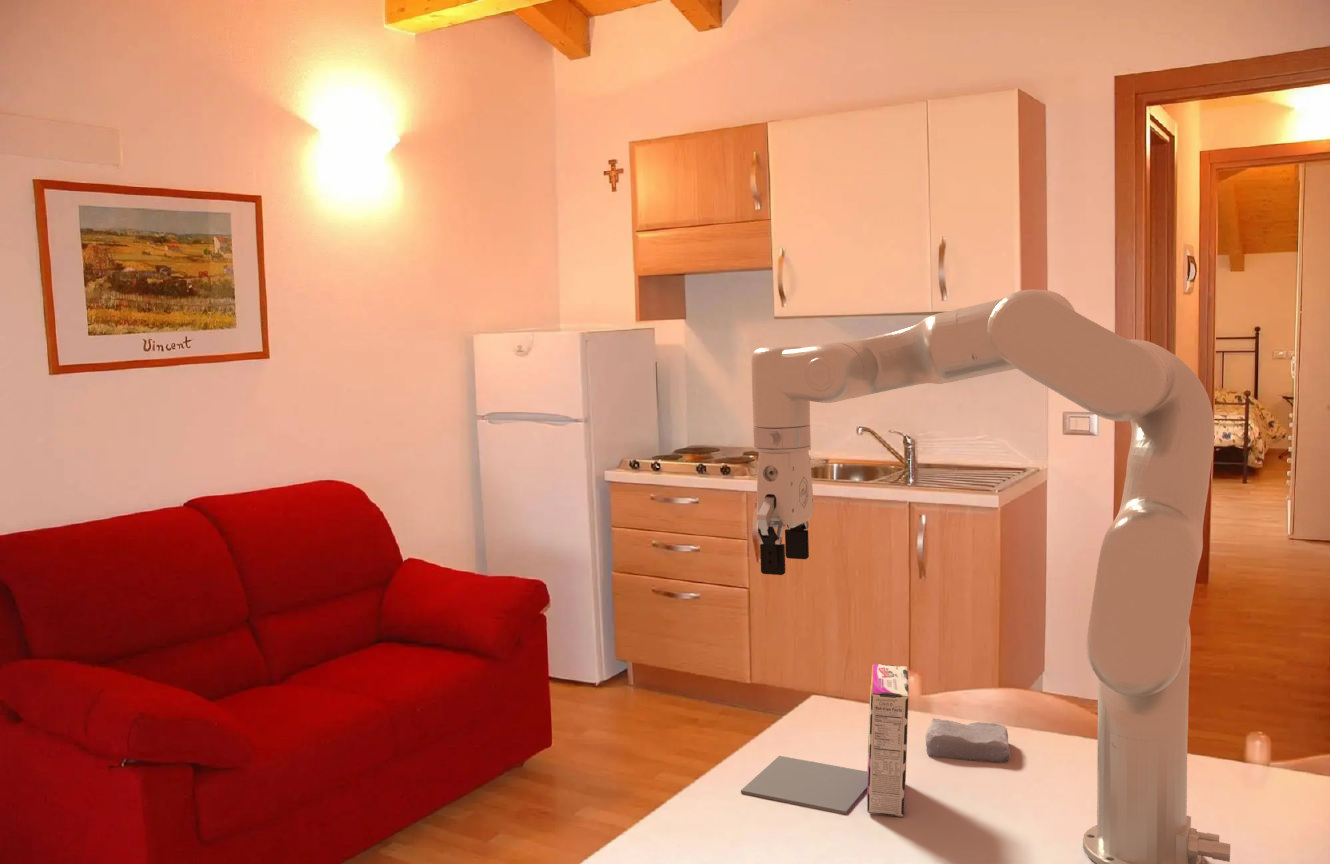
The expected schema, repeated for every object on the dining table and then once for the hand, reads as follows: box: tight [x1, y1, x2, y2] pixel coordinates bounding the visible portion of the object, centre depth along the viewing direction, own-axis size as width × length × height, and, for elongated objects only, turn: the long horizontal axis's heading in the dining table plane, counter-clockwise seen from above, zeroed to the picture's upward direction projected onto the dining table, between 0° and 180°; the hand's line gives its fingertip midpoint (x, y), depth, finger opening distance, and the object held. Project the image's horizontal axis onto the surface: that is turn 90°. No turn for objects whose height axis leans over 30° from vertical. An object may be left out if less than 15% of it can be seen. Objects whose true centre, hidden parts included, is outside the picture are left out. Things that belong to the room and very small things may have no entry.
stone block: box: [925, 718, 1011, 763], centre depth 159 cm, size 12×5×10 cm
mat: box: [740, 755, 867, 815], centre depth 148 cm, size 15×13×1 cm
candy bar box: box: [866, 663, 910, 818], centre depth 142 cm, size 11×5×16 cm, turn 168°
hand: (785, 566), depth 145 cm, fingers open, 9 cm apart
